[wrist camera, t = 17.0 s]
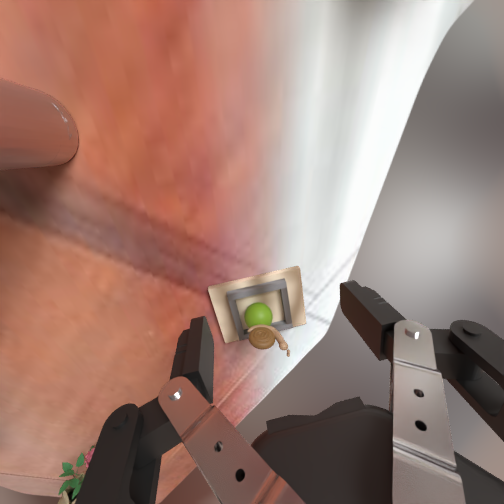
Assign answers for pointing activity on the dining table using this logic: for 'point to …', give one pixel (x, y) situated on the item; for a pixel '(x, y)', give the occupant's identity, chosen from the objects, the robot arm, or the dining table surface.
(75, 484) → the flower vase
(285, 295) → the board
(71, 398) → the dining table surface
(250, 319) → the snail figurine
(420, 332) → the robot arm
